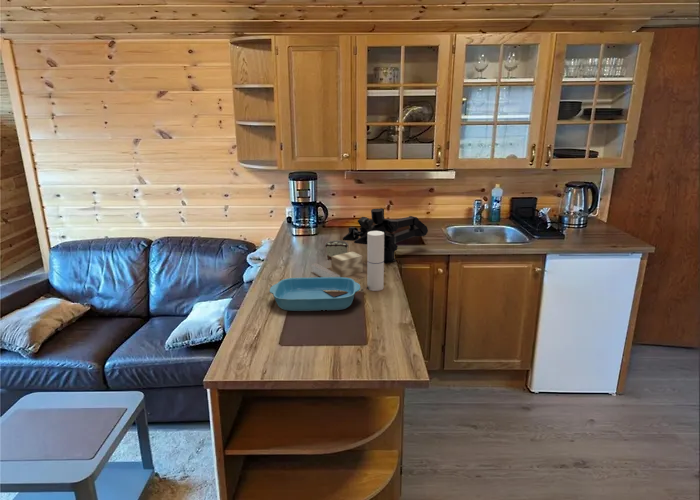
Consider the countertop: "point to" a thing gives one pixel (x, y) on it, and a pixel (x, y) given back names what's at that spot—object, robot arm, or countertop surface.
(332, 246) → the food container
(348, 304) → the casserole dish
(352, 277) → the walnut board
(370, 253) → the cylindrical container
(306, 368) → the countertop surface
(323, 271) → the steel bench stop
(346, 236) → the robot arm
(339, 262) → the maple block
